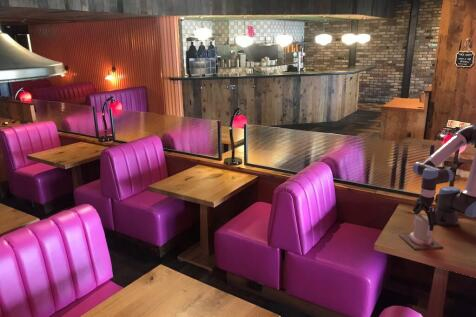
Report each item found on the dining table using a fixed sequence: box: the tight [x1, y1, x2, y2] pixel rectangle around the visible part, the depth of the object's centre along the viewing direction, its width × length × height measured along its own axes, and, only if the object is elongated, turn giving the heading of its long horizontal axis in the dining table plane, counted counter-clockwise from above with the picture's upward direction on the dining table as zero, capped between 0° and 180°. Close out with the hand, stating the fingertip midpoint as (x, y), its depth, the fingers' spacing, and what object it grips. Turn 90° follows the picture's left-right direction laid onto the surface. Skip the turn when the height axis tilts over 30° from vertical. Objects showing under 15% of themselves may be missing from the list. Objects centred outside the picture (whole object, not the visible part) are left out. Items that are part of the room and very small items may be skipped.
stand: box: [398, 231, 444, 251], centre depth 230 cm, size 17×17×4 cm
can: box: [413, 214, 432, 240], centre depth 227 cm, size 9×9×12 cm
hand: (422, 229), depth 228 cm, fingers open, 13 cm apart
